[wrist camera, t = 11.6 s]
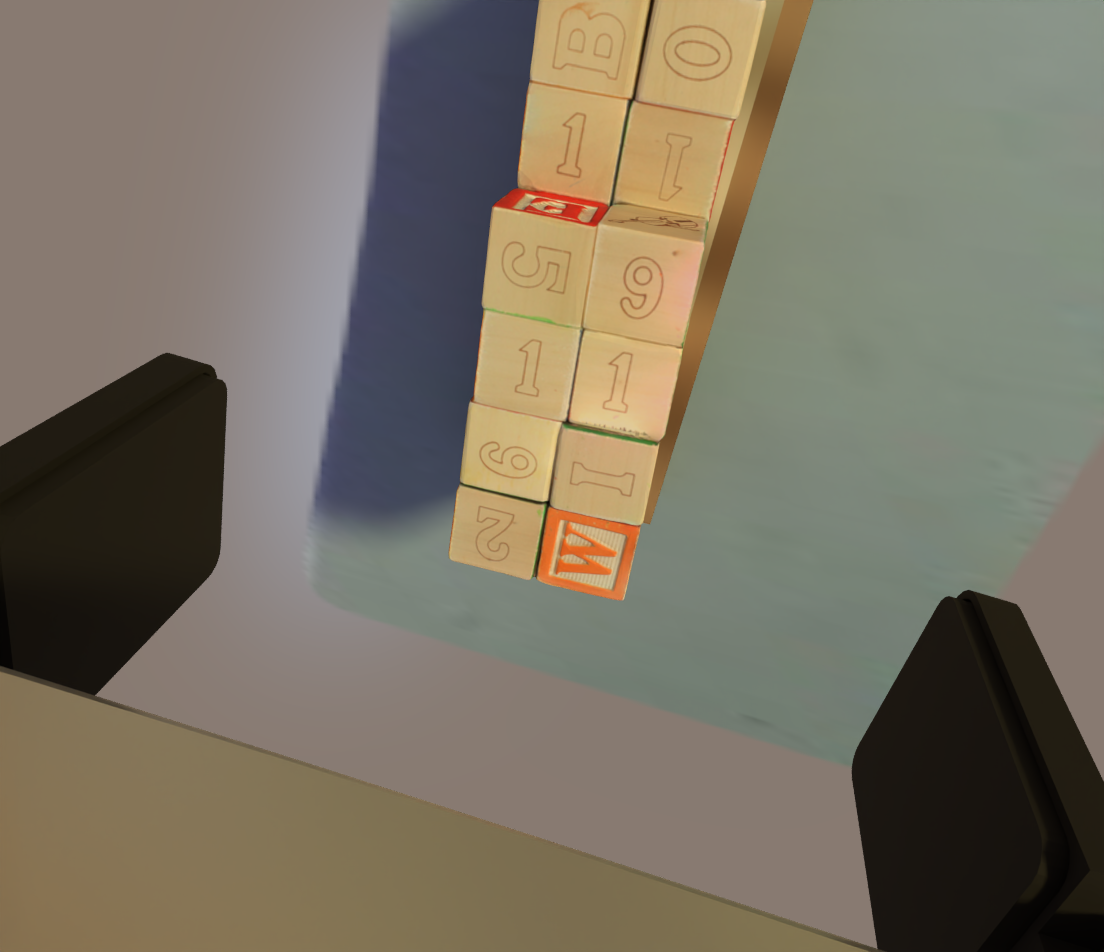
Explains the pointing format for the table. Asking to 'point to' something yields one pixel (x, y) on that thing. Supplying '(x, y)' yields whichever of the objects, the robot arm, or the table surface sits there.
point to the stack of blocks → (595, 281)
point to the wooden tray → (734, 200)
